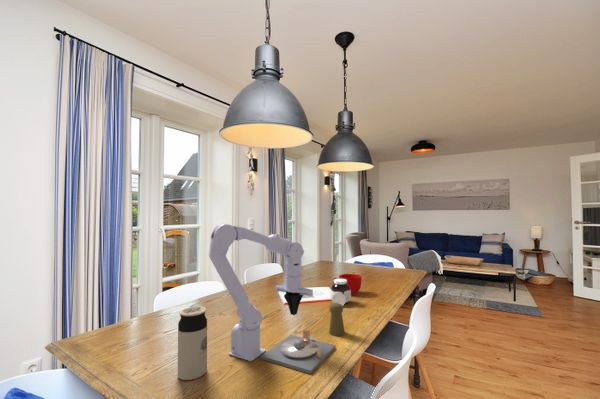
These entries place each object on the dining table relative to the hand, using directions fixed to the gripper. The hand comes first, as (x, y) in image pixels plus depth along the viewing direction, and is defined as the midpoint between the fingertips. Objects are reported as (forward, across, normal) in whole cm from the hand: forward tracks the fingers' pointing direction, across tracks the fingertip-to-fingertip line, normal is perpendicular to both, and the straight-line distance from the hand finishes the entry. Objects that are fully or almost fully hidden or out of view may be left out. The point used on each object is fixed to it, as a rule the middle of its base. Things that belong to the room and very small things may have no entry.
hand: (293, 314), depth 100 cm
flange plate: (+9, -5, +4) cm, 11 cm away
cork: (+11, -10, -16) cm, 21 cm away
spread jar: (+11, +2, -50) cm, 51 cm away
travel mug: (+11, +16, +30) cm, 36 cm away
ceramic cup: (+11, +6, -70) cm, 71 cm away
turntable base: (+10, -5, +5) cm, 13 cm away
